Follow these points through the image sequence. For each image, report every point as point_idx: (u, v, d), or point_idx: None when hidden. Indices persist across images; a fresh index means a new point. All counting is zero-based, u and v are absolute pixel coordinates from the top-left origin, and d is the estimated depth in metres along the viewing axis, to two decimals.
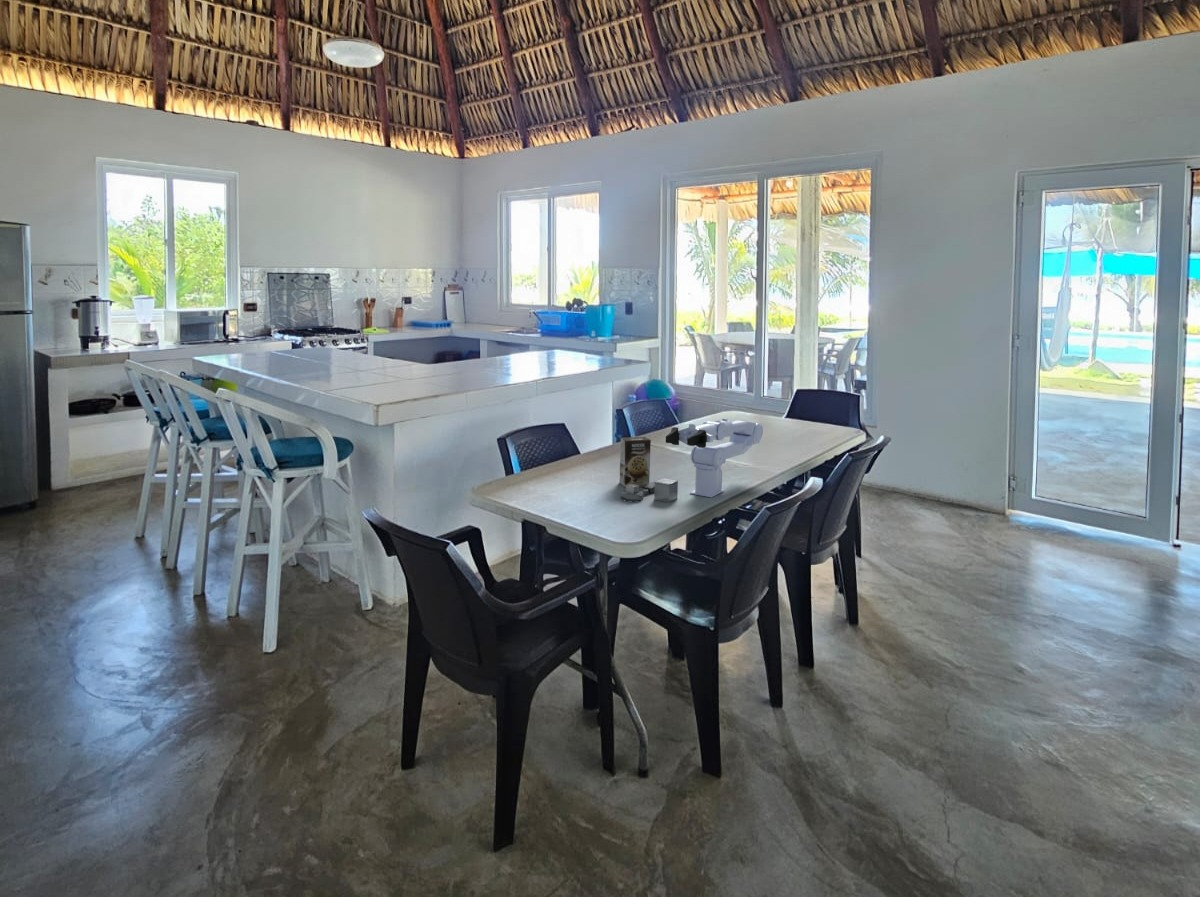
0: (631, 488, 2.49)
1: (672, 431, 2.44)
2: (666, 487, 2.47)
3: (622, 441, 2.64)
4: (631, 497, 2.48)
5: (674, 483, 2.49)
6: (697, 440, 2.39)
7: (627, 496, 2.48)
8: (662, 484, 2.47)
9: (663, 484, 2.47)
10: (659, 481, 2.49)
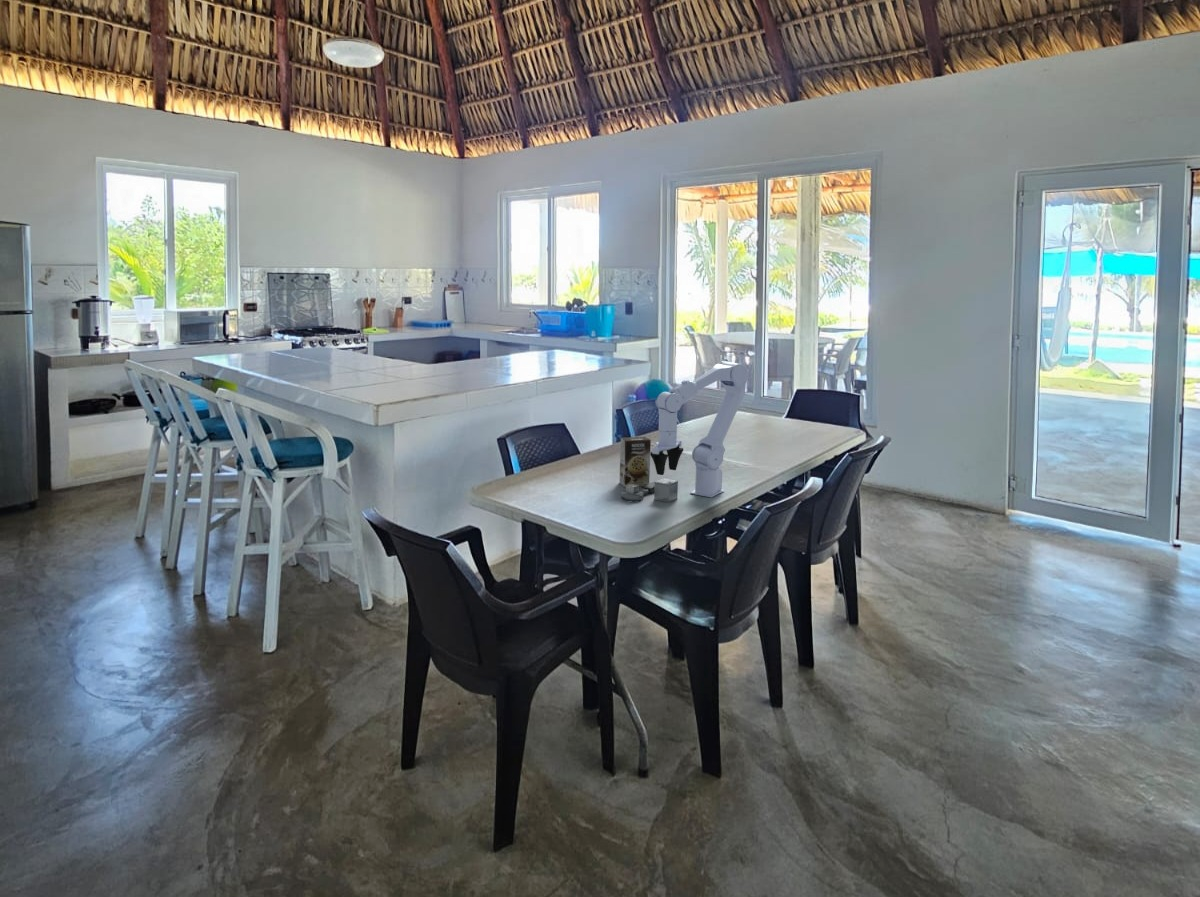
0: (631, 488, 2.49)
1: None
2: (666, 487, 2.47)
3: (622, 441, 2.64)
4: (631, 497, 2.48)
5: (674, 483, 2.49)
6: (660, 460, 2.44)
7: (627, 496, 2.48)
8: (662, 484, 2.47)
9: (663, 484, 2.47)
10: (659, 481, 2.49)
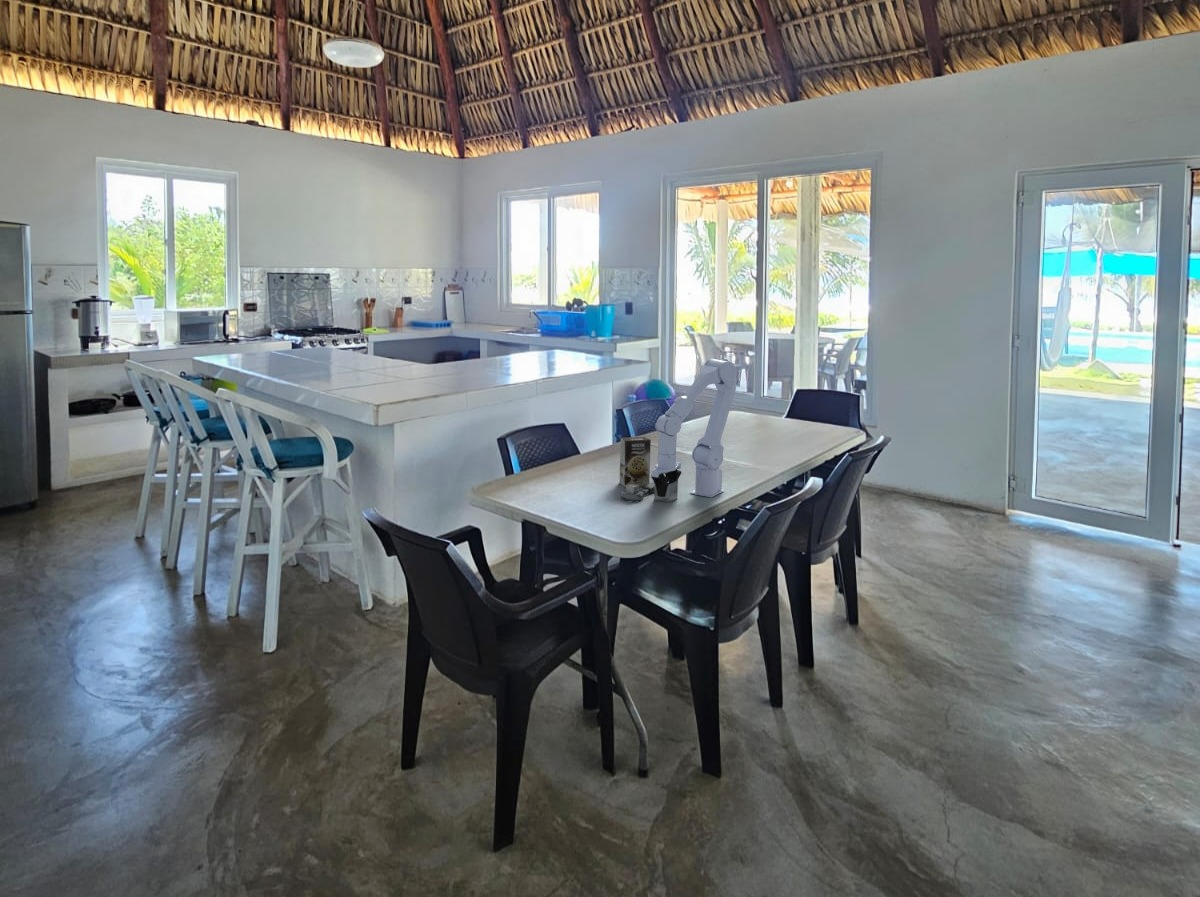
0: (631, 488, 2.49)
1: None
2: (666, 487, 2.47)
3: (622, 441, 2.64)
4: (631, 497, 2.48)
5: (674, 483, 2.49)
6: (661, 482, 2.46)
7: (627, 496, 2.48)
8: None
9: None
10: None
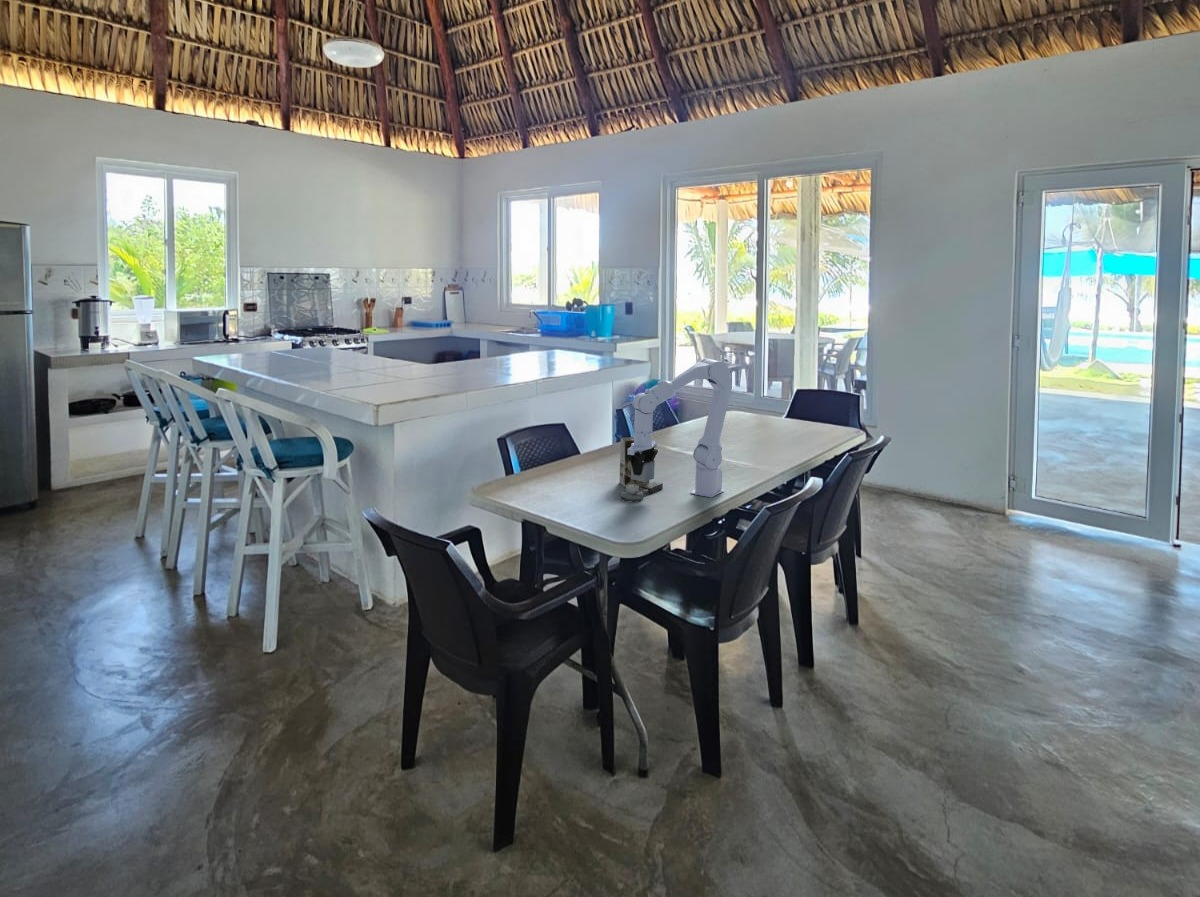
0: (631, 488, 2.49)
1: None
2: (642, 466, 2.45)
3: (622, 441, 2.64)
4: (631, 497, 2.48)
5: (651, 462, 2.47)
6: (637, 460, 2.45)
7: (627, 496, 2.48)
8: None
9: None
10: None
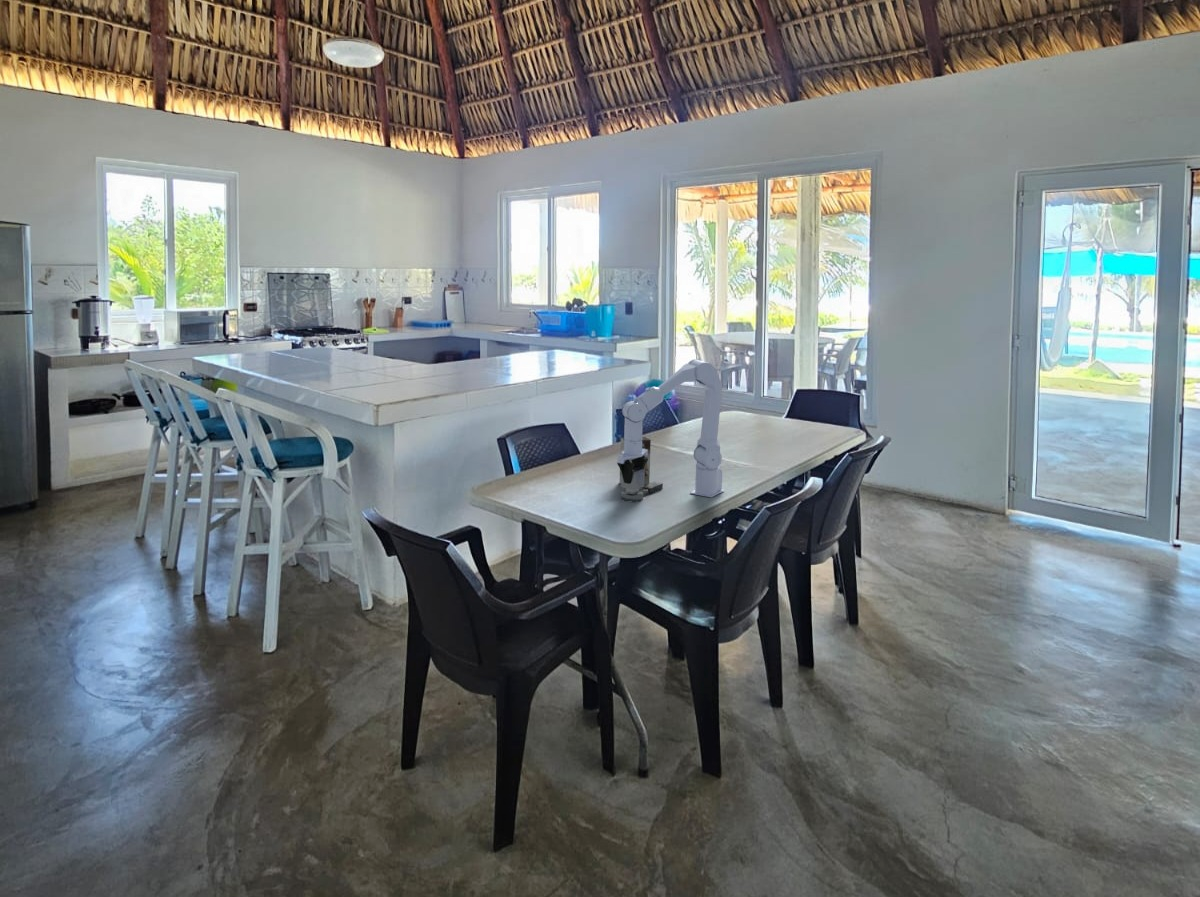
0: None
1: None
2: (632, 474, 2.46)
3: (622, 441, 2.64)
4: (631, 497, 2.48)
5: (641, 471, 2.48)
6: (627, 468, 2.46)
7: (627, 496, 2.48)
8: None
9: None
10: None
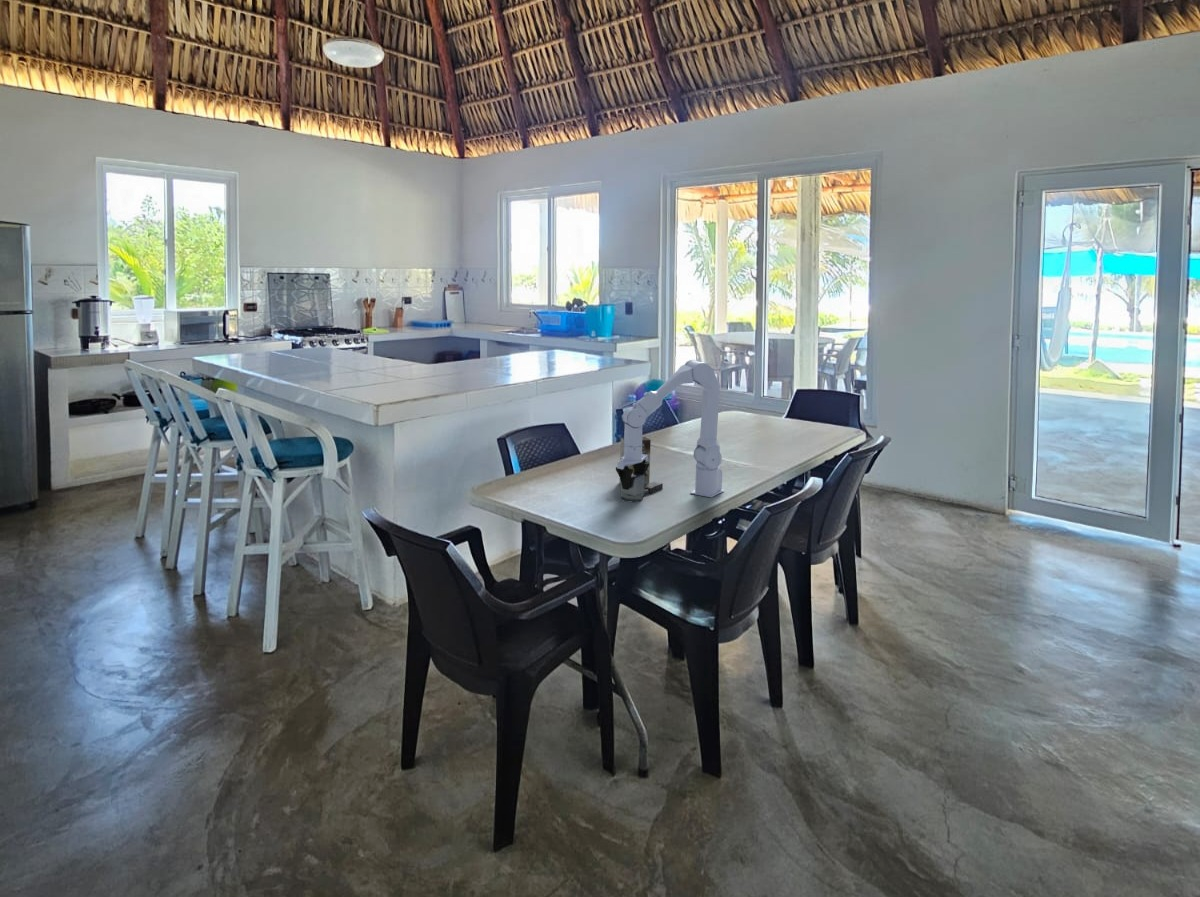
0: None
1: None
2: (632, 481, 2.47)
3: (622, 441, 2.64)
4: (631, 497, 2.48)
5: (640, 477, 2.48)
6: (626, 475, 2.46)
7: (627, 496, 2.48)
8: None
9: None
10: None
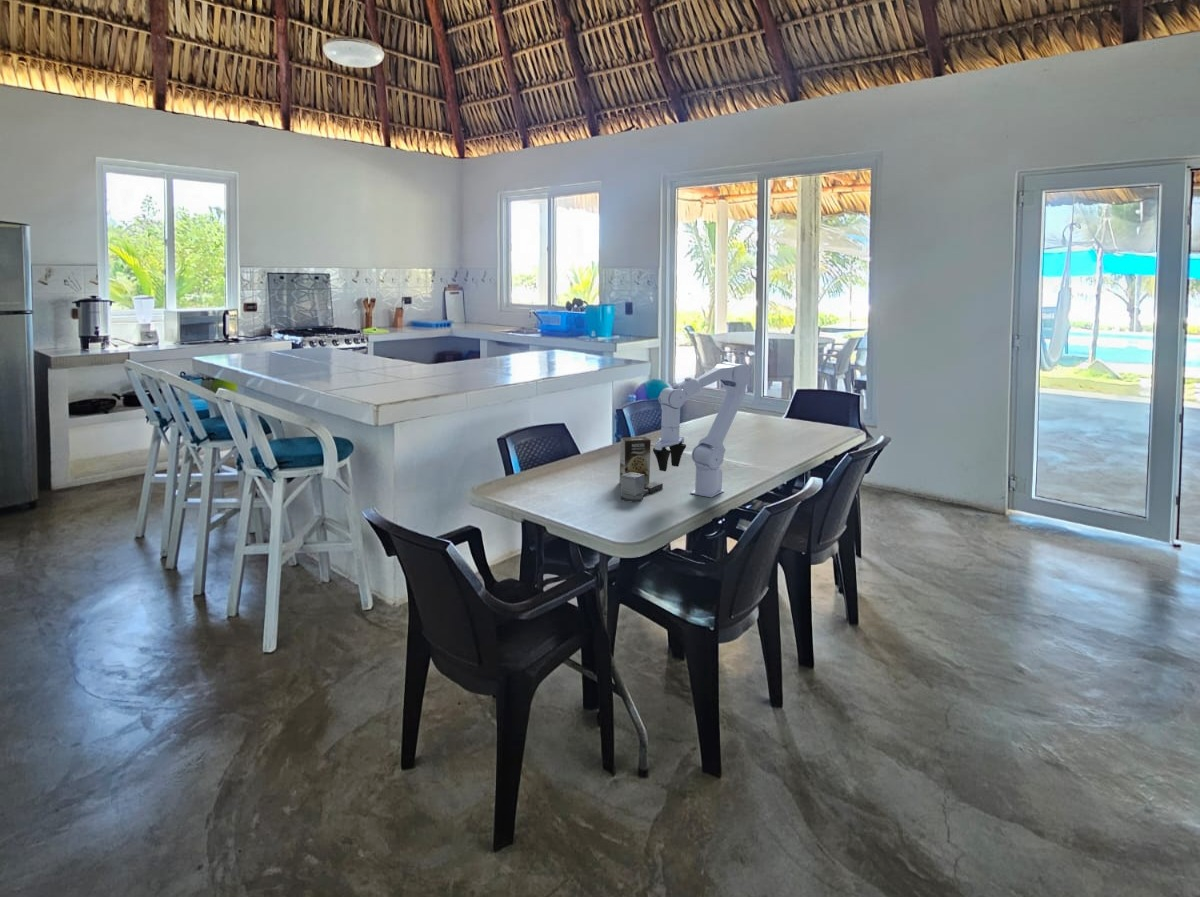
0: None
1: None
2: (632, 481, 2.47)
3: (622, 441, 2.64)
4: (631, 497, 2.48)
5: (640, 477, 2.48)
6: (663, 456, 2.43)
7: (627, 496, 2.48)
8: (628, 478, 2.47)
9: (629, 478, 2.47)
10: (626, 475, 2.49)
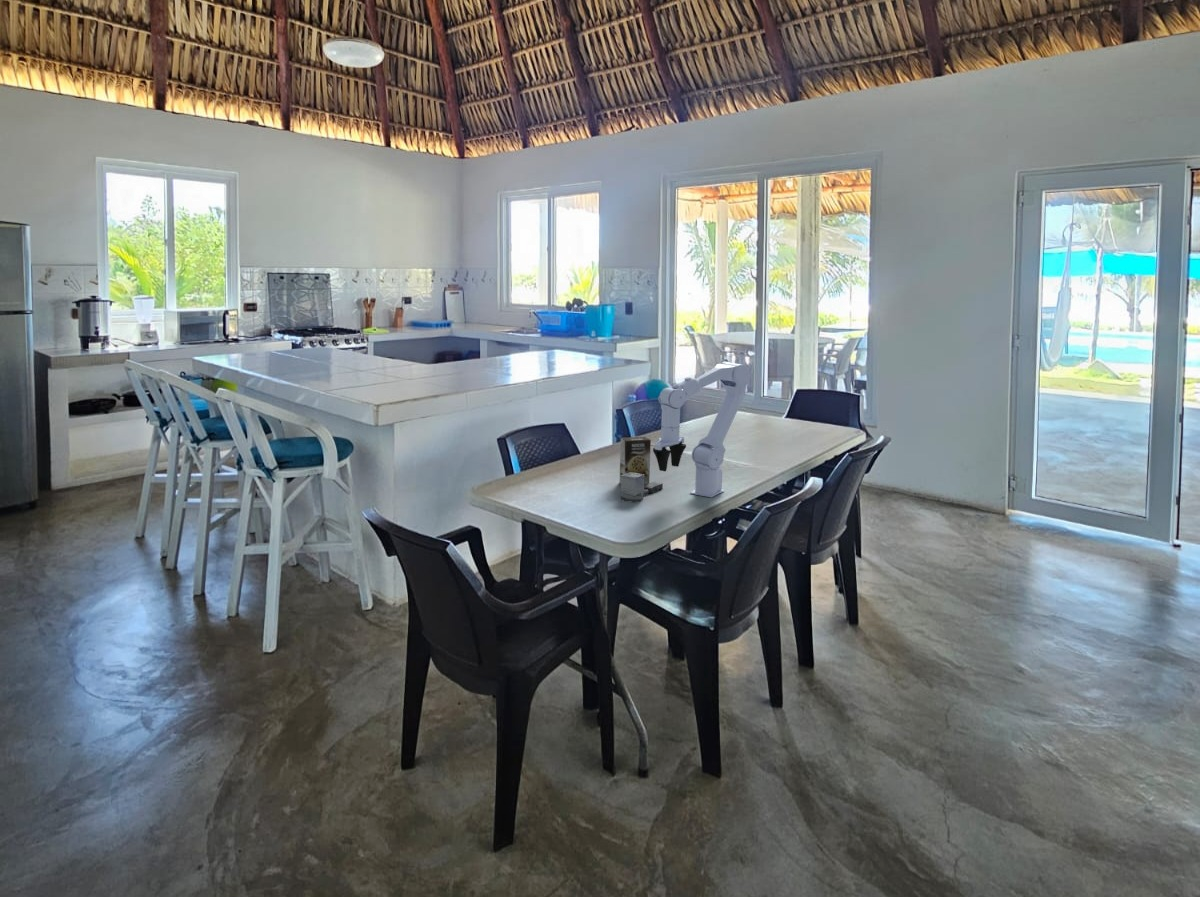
0: None
1: None
2: (632, 481, 2.47)
3: (622, 441, 2.64)
4: (631, 497, 2.48)
5: (640, 477, 2.48)
6: (663, 456, 2.43)
7: (627, 496, 2.48)
8: (628, 478, 2.47)
9: (629, 478, 2.47)
10: (625, 475, 2.49)
